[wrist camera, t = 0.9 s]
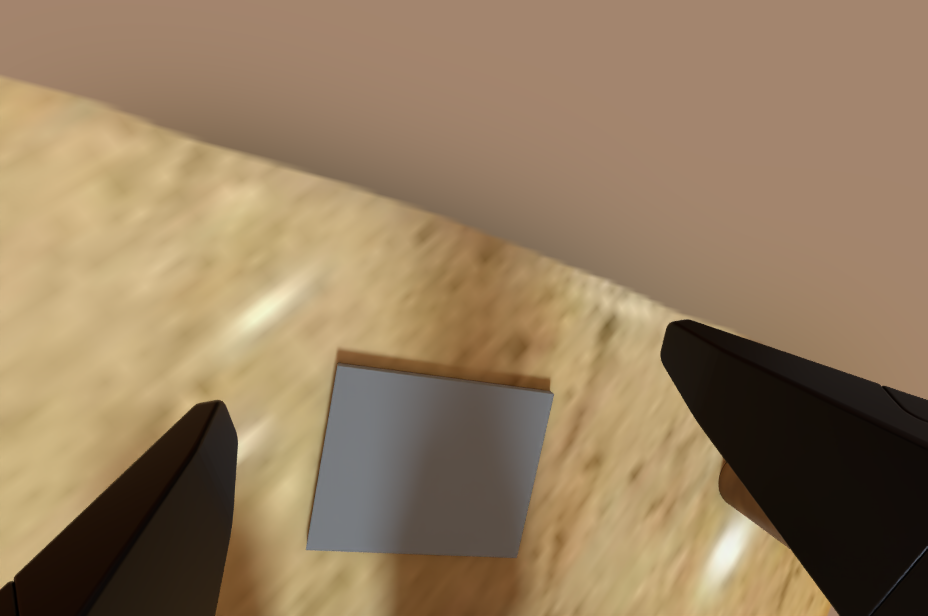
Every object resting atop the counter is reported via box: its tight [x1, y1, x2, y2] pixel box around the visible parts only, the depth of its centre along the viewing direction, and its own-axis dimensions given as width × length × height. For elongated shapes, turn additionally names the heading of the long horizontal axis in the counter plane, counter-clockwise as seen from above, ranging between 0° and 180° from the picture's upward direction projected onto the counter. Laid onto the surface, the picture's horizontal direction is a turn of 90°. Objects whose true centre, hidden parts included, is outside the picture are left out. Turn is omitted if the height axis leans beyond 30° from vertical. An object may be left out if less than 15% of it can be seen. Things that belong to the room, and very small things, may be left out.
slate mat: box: [306, 363, 554, 558], centre depth 28 cm, size 11×13×1 cm
